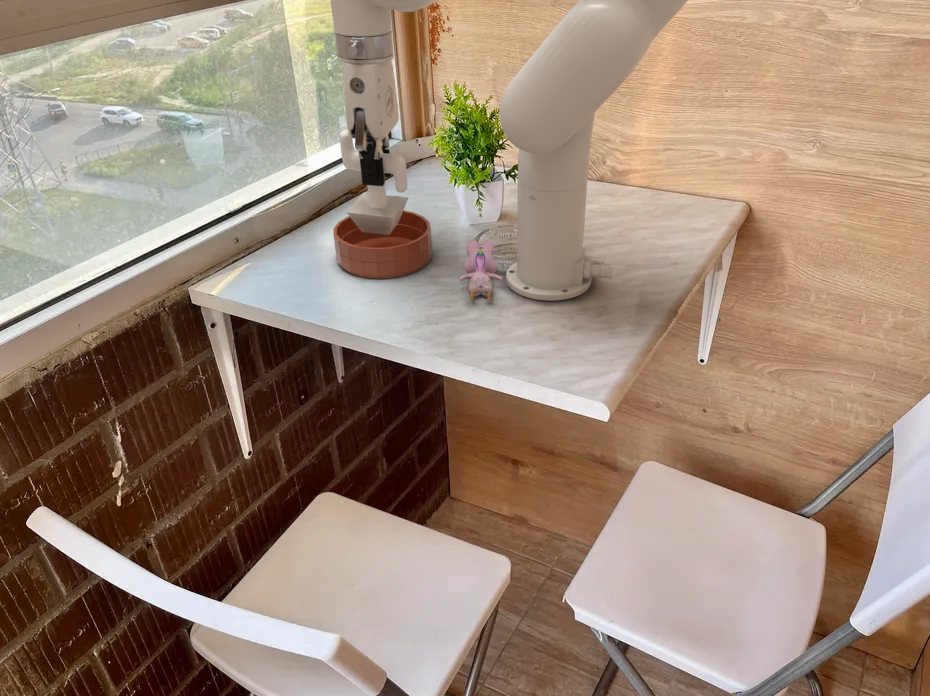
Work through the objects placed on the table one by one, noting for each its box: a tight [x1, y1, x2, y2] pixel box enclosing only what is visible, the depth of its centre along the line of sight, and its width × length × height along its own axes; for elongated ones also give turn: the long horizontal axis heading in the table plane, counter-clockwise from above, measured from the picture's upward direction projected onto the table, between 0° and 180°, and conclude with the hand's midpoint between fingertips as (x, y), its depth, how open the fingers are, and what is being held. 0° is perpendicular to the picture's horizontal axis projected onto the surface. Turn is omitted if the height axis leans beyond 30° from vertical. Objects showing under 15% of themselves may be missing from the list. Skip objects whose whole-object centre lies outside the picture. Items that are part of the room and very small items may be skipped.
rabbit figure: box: [458, 239, 503, 304], centre depth 112 cm, size 6×6×15 cm
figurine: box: [339, 129, 410, 235], centre depth 113 cm, size 7×9×15 cm
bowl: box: [332, 209, 433, 279], centre depth 118 cm, size 15×15×5 cm
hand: (377, 179), depth 112 cm, fingers closed on figurine, 2 cm apart
